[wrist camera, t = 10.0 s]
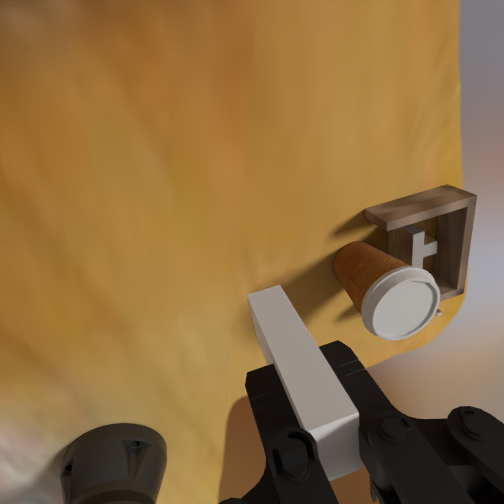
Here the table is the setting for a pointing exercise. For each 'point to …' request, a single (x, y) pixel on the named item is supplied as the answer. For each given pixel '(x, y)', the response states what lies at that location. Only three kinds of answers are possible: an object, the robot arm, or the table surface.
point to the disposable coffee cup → (386, 291)
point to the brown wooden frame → (447, 231)
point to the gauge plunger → (411, 246)
